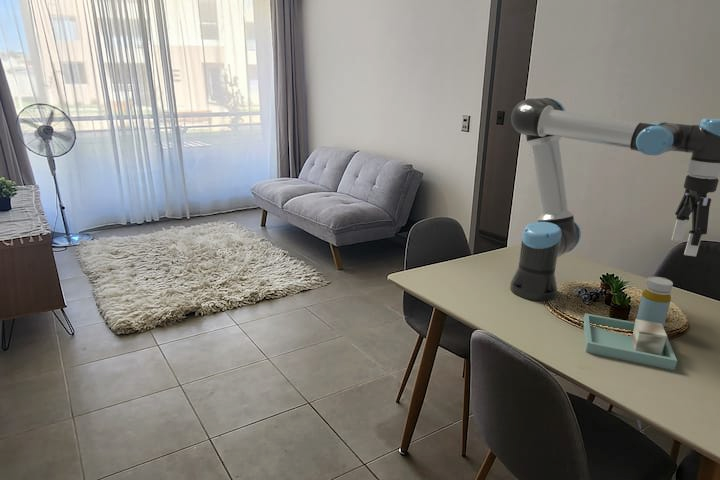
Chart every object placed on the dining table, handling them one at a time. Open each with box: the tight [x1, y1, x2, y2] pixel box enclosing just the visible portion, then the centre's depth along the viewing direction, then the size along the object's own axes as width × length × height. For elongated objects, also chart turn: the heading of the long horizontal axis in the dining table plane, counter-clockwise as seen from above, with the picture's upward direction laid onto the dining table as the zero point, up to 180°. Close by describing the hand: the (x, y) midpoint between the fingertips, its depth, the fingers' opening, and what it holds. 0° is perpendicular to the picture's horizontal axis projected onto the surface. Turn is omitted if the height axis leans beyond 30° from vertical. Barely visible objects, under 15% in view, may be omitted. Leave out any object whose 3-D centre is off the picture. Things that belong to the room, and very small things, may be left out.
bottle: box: [635, 276, 674, 328], centre depth 134 cm, size 7×7×15 cm
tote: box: [582, 312, 678, 371], centre depth 125 cm, size 20×18×4 cm
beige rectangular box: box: [631, 318, 668, 356], centre depth 123 cm, size 6×7×6 cm
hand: (682, 247), depth 135 cm, fingers open, 13 cm apart
